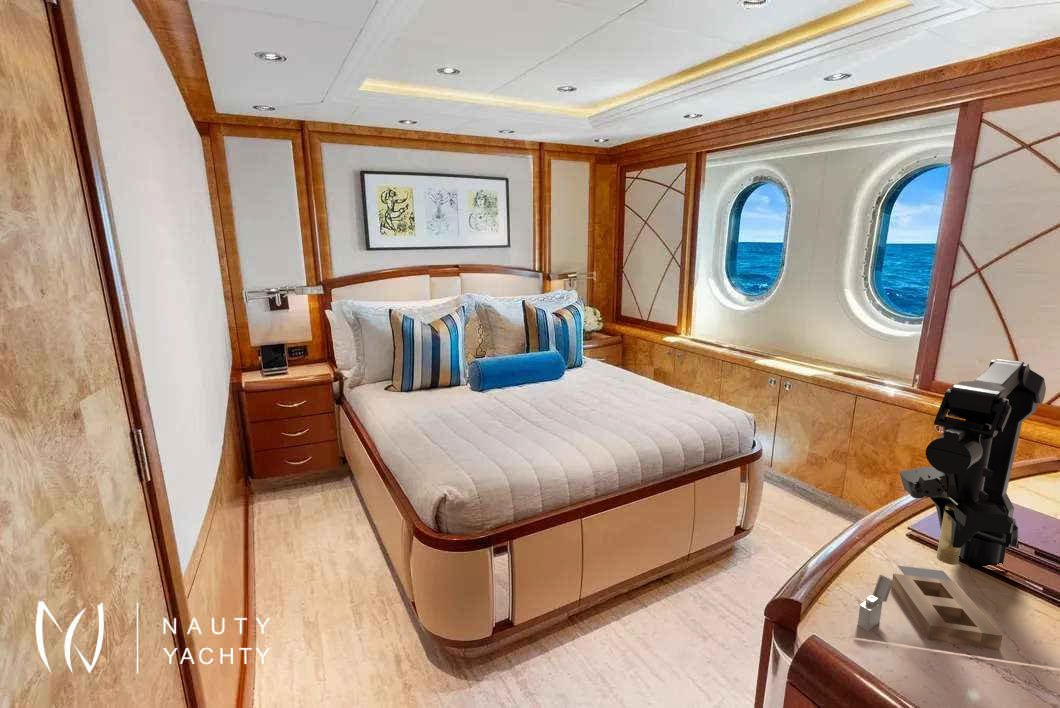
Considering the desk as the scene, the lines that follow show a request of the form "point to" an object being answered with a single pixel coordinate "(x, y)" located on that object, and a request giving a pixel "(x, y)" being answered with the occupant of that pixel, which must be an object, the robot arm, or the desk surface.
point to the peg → (947, 541)
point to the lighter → (874, 604)
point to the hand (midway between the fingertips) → (950, 542)
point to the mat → (924, 573)
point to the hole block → (945, 612)
